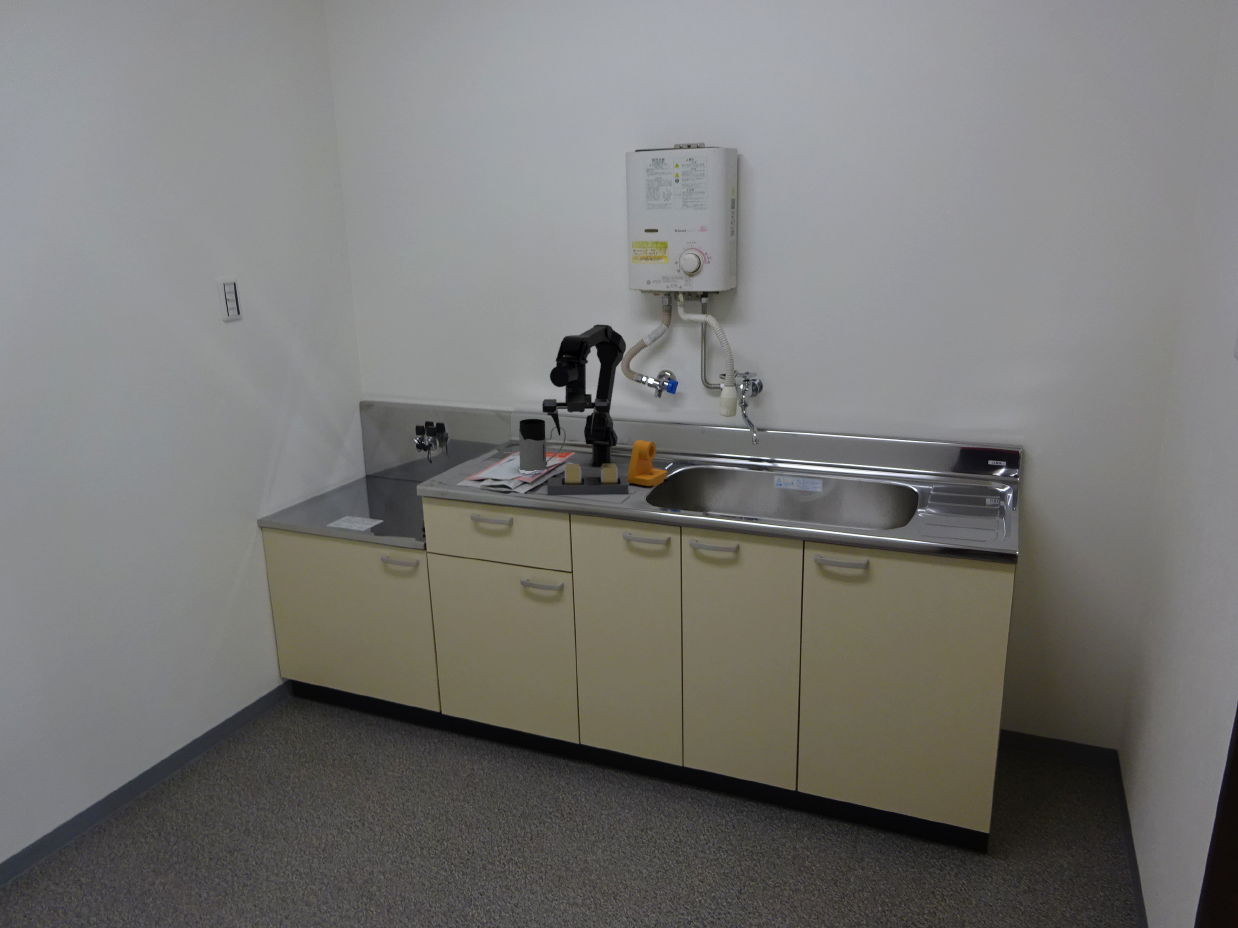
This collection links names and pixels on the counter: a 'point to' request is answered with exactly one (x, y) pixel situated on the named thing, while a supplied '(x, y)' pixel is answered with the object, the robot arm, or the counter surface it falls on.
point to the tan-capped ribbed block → (609, 474)
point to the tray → (586, 486)
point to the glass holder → (534, 444)
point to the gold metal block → (572, 474)
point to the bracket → (644, 465)
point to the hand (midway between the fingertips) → (575, 435)
